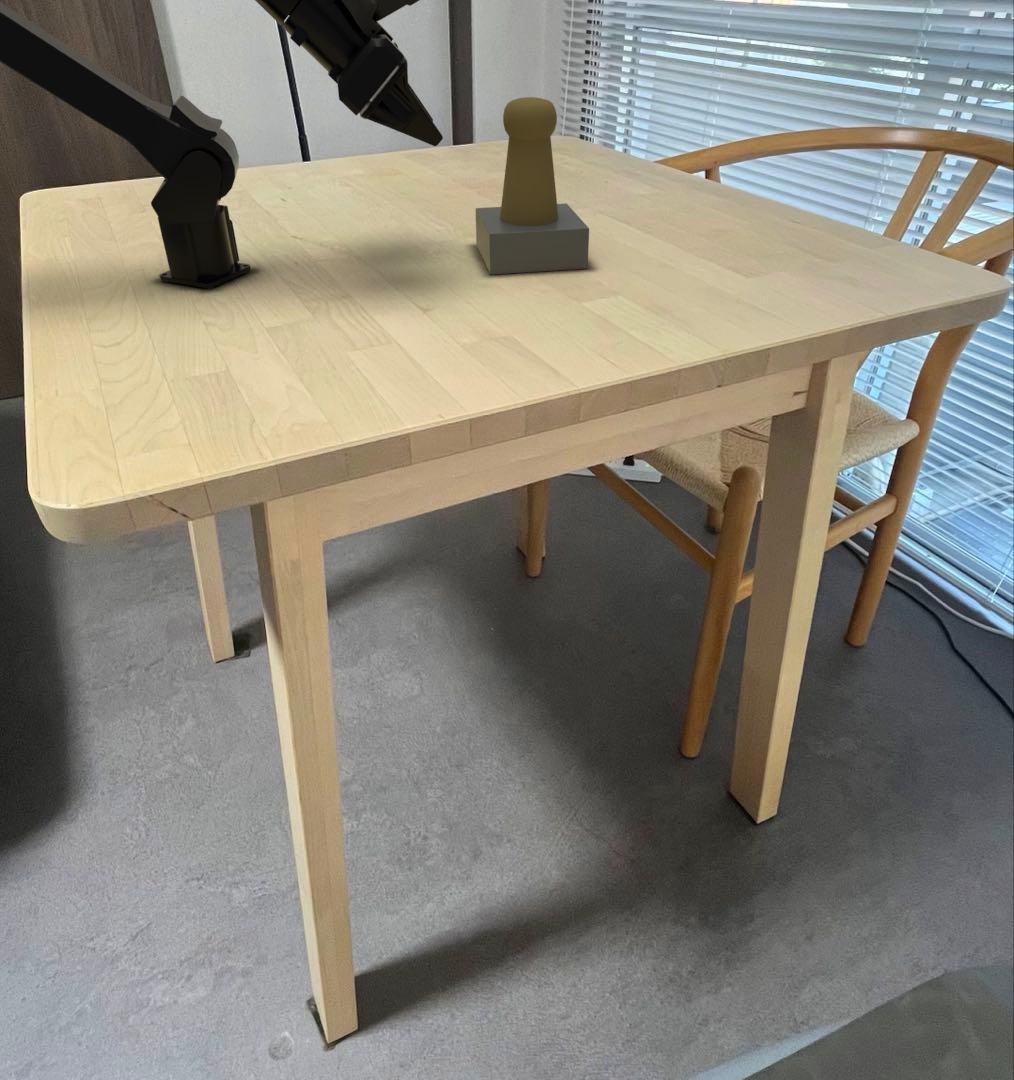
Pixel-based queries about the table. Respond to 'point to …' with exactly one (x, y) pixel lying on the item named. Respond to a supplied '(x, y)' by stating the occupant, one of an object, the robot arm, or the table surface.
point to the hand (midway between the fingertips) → (434, 133)
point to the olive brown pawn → (529, 163)
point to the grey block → (532, 243)
